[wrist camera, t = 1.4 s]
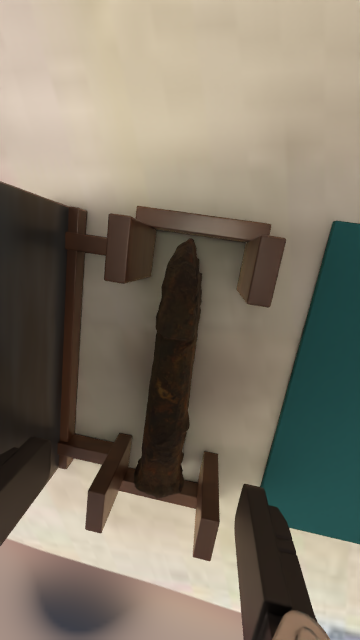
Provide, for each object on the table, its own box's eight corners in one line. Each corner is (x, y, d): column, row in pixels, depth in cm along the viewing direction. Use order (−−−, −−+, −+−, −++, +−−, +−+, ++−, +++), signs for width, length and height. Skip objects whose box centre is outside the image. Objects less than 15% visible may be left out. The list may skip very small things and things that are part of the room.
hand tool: (184, 466, 23) (178, 516, 18) (141, 456, 23) (124, 502, 19) (231, 248, 18) (237, 244, 14) (176, 238, 19) (165, 231, 14)
